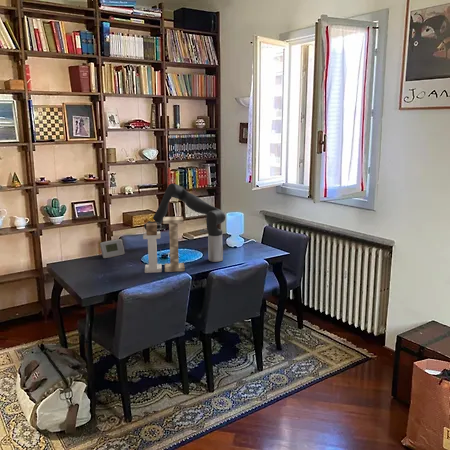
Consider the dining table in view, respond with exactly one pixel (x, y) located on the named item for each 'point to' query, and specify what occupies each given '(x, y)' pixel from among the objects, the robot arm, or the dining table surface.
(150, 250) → the white column stand
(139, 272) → the dining table surface
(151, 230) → the teal and brown block
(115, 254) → the digital clock
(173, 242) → the marbled pedestal stand
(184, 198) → the robot arm
